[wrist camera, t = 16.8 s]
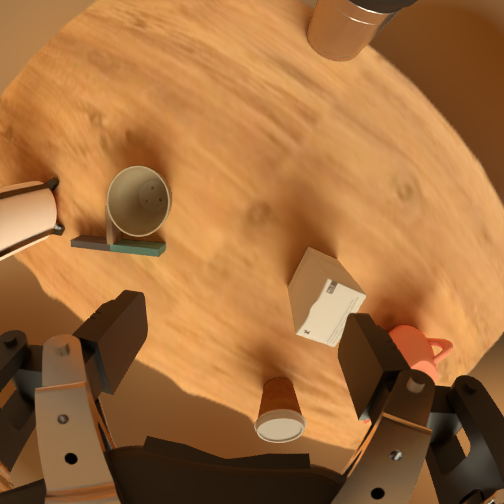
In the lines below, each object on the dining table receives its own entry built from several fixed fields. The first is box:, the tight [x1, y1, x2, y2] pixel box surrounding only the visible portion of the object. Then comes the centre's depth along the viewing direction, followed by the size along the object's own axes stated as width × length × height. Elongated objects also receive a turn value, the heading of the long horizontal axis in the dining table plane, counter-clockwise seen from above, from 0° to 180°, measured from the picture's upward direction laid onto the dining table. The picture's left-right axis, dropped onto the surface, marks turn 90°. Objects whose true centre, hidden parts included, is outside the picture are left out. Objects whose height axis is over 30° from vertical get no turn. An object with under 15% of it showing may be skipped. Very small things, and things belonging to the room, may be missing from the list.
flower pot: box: [107, 166, 172, 237], centre depth 38 cm, size 10×10×7 cm
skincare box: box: [287, 247, 367, 347], centre depth 38 cm, size 8×6×15 cm
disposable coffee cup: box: [255, 378, 306, 443], centre depth 47 cm, size 10×10×12 cm
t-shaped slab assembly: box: [71, 205, 166, 257], centre depth 42 cm, size 8×18×4 cm, turn 85°
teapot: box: [363, 324, 453, 424], centre depth 43 cm, size 16×17×14 cm
